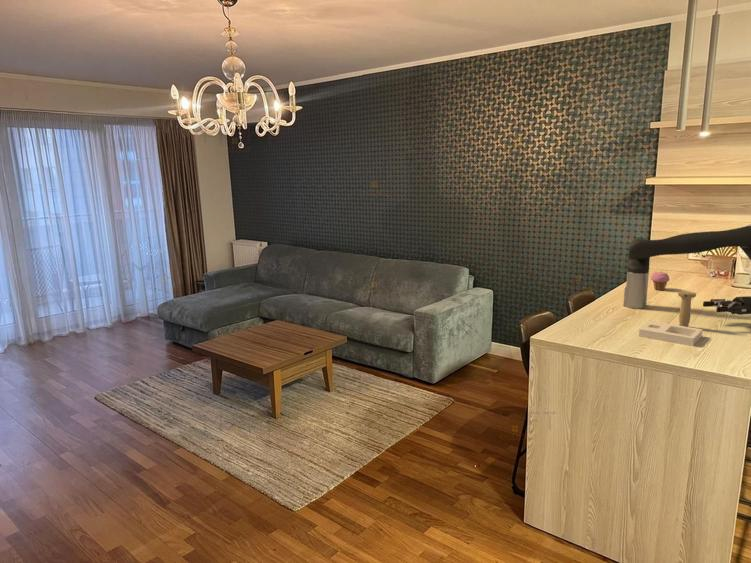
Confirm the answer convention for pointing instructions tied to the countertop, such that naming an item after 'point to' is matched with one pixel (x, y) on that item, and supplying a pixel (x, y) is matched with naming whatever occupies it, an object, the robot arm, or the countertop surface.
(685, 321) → the handle
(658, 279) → the cupcake
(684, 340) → the plate
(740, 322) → the countertop surface
